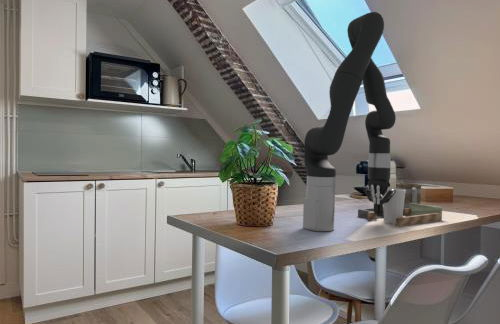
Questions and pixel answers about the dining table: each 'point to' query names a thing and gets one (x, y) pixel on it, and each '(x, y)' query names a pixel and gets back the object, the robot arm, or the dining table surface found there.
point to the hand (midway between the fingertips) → (378, 214)
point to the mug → (410, 193)
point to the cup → (394, 206)
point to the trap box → (416, 210)
